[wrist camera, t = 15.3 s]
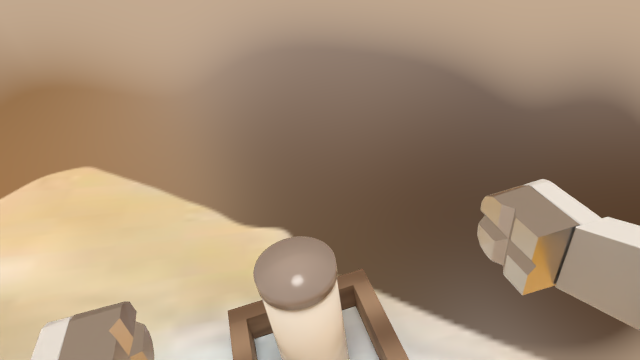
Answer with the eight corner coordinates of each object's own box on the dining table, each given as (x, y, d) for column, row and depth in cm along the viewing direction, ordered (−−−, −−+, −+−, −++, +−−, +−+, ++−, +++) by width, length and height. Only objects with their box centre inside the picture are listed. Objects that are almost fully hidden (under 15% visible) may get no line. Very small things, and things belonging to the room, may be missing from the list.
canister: (352, 404, 31) (335, 297, 24) (284, 406, 32) (246, 302, 24) (350, 341, 35) (335, 233, 28) (290, 343, 36) (260, 239, 28)
